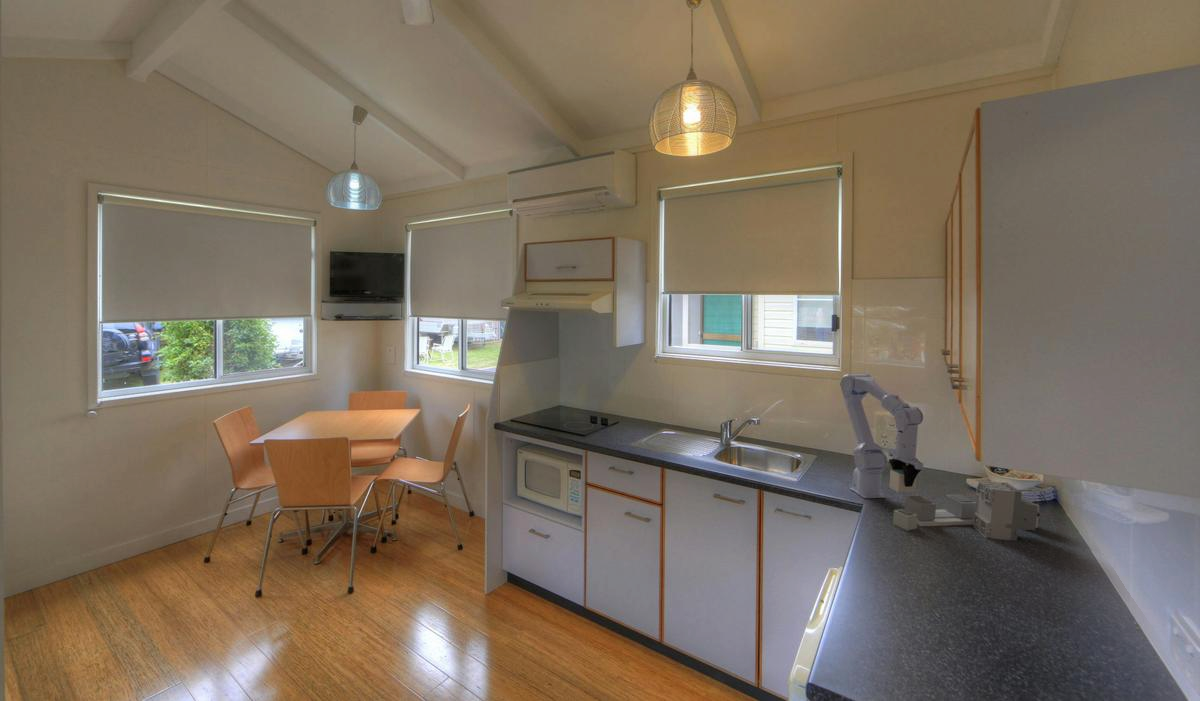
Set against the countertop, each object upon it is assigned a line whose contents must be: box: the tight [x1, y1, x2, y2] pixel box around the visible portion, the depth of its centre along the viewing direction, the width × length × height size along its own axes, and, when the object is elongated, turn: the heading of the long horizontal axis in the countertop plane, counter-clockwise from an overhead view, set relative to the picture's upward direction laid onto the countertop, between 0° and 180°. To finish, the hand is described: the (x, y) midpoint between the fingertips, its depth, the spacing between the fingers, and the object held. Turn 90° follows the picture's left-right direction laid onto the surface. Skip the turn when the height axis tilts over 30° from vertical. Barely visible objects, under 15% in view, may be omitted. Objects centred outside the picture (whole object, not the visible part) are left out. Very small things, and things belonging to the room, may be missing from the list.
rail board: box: [904, 494, 978, 527], centre depth 168 cm, size 9×20×7 cm, turn 96°
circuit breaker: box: [972, 480, 1040, 542], centre depth 157 cm, size 8×14×15 cm, turn 78°
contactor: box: [892, 508, 918, 531], centre depth 163 cm, size 5×4×5 cm
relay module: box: [889, 469, 917, 493], centre depth 174 cm, size 4×6×6 cm
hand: (903, 483), depth 174 cm, fingers closed on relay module, 4 cm apart
